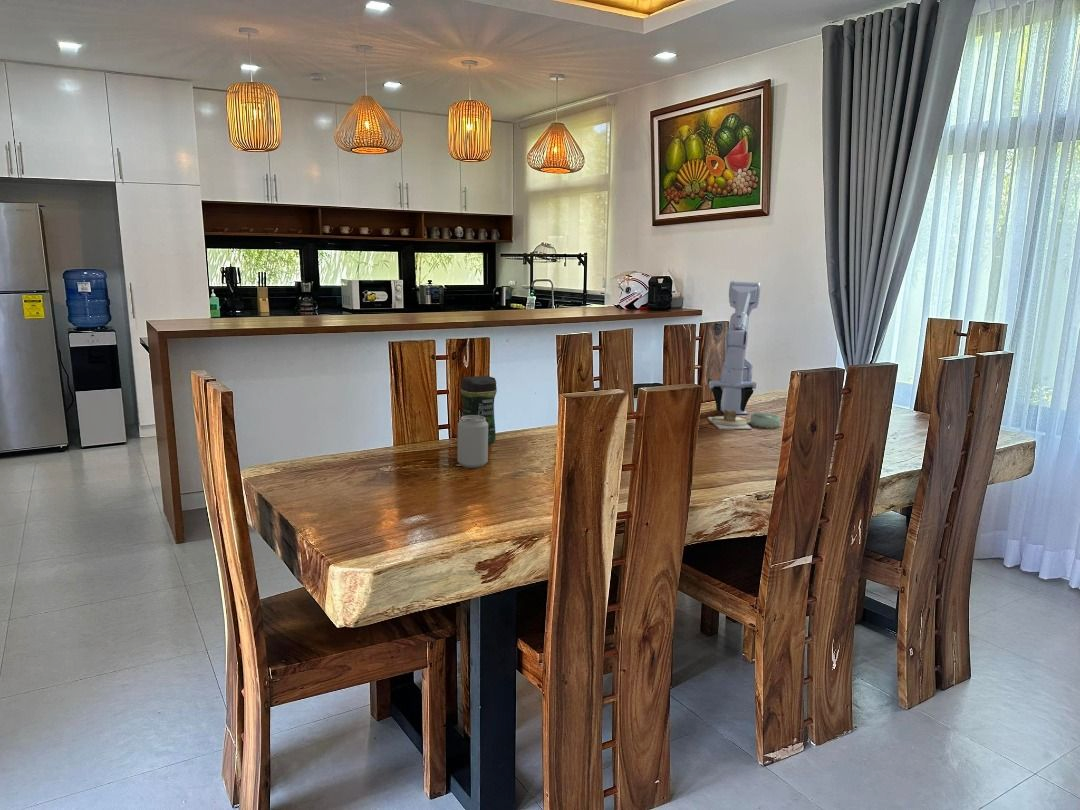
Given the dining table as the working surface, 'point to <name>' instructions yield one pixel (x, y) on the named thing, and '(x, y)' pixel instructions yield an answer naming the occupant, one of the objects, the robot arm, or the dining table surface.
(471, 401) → the coffee jar
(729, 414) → the lid
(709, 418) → the mat
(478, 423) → the can
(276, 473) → the dining table surface
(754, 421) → the bowl
